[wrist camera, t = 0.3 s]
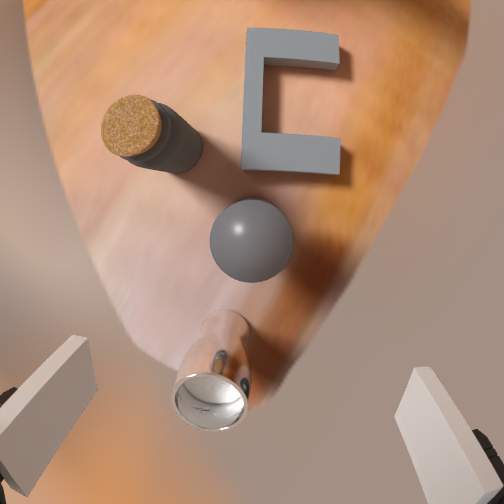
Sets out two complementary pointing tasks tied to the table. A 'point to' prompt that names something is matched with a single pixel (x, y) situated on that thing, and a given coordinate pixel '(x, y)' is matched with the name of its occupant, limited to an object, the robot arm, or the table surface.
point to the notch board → (257, 55)
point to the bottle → (150, 135)
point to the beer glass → (215, 375)
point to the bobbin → (251, 240)
